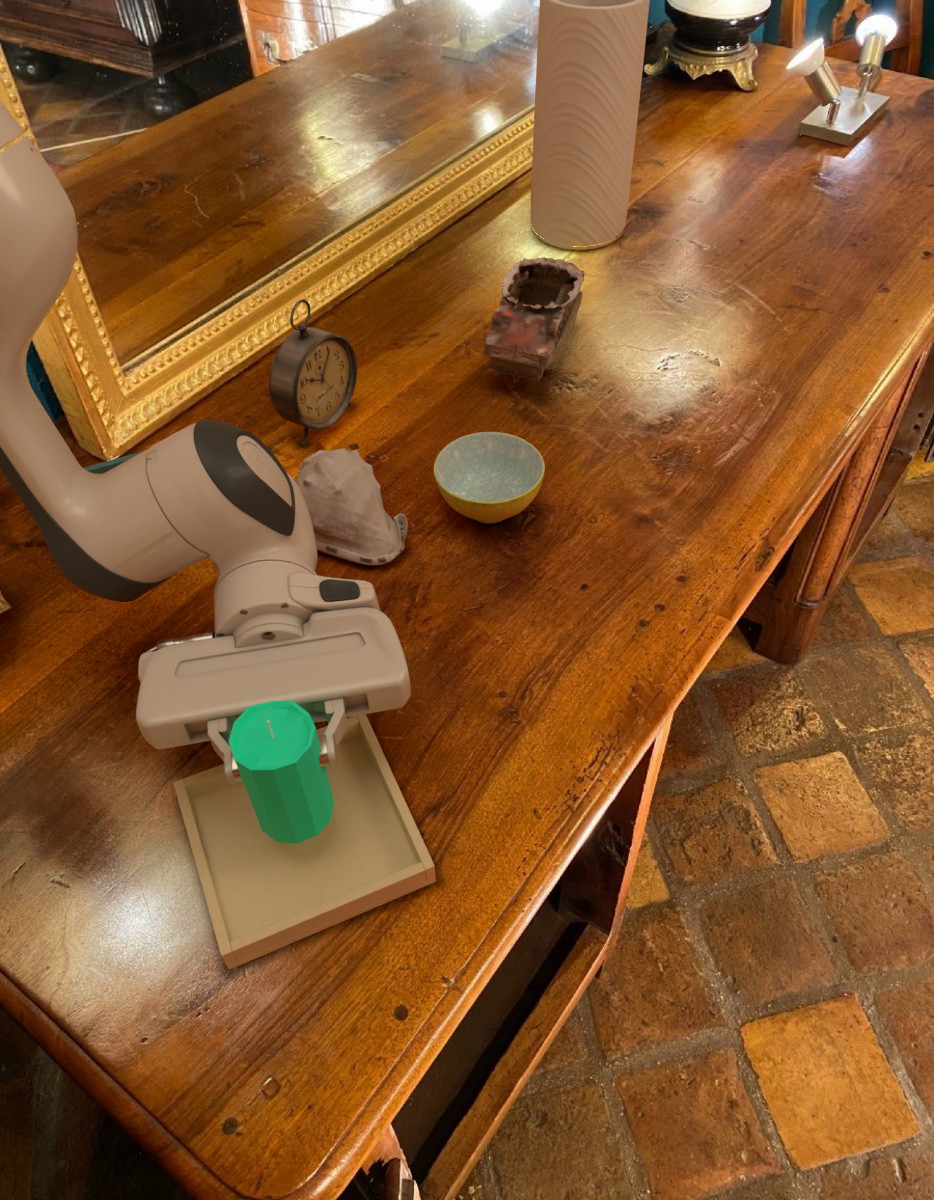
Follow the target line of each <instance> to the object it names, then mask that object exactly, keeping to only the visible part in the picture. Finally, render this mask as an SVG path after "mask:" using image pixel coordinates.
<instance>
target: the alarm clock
mask: <svg viewBox="0 0 934 1200" xmlns="http://www.w3.org/2000/svg"><path fill="white" fill-rule="evenodd" d="M302 303H304V304H305V305H306V307H307V308H306V309H307V316H306V319H305V321H304V322H300V323H299V324H298V325H297V327H296V326H295V324H294V315H295V311H296V308H297V307H298V306H299V305H300V304H302ZM310 318H311V306H310V303H309V301H308V300H307V299H304V298H301V299H299V300H297V301H296V302H295V304H294V305H293V307H292V309H291V311H290V316H289V322H290V326H291V328H292V329H294V330H295V331H294V332H292V333H290V335H288V337H286V339H284V340H283V342H282V343H281V344H280V346H279V347H278V349H277V351H276V352H275V355H274V357H273V359H272V362H271V366H270V369H269V377H268V390H269V391H268V392H269V396H270V400H271V403H272V405H273V408H274V409H275V411H276V412H277V414H278V415H279V416H280V417H281V418H282V419H284V420H285V421H287V422H290V423H293V424H295V425H298V426H301V427H302V431H301V441H300V446H301V447H305V446H306V445H307V442H306V440H307V439H308V436H309V432H310V430H311V431H322V430H326V429H327V428H330V427H331V426H332V425H334V424H335V423H336V422H338V420H339V419H340V418H341V417H342V416H343V414H344V413H345V412H346V410H347V409H348V408H350V407H351V400H352V398H353V395H354V394H355V389H356V386H357V379H358V363H357V357H356V354H355V351H354V347H353V346H352V344H351V343H350V341H349V340H348V339H347V338H346V337H344V336H343V335H341V334H338V333H333V332H330V331H327V330H324V329H321V328H317V327H313V326H307V324H308V323H309V321H310Z"/></svg>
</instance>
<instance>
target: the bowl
mask: <svg viewBox="0 0 934 1200" xmlns="http://www.w3.org/2000/svg"><path fill="white" fill-rule="evenodd" d="M545 473H546V465H545V460H544V457H543V456H542V454H541V452H540V451H539V450H538V449H537V448H536V446H534V445H533V444H532V443H530V442H529V441H527V440H525V439H523V438H521V437H520V436H517V435H514V434H510V433H506V432H499V431H498V432H497V431H482V432H481V431H480V432H474V433H470V434H466V435H464V436H460V437H458V438H456V439H454V440H452V441H451V442H449V443H447V444H446V445H445V446H444V447H443V448H442V449H441V450H440V451H439V453H438V454H437V456H436V458H435V460H434V463H433V476H434V480H435V483H436V487H437V489H438V491H439V493H440V495H441V496H442V498H443V499H444V501H445V502H446V503H447V504H448V505H449V506H450V507H451V509H453V510H454V511H456V512H457V513H459V514H460V515H461V516H464V517H466V518H469V519H471V520H475V521H477V522H479V523H482V524H497V523H499V522H502V521H504V520H506V519H507V520H508V519H510V518H512V517H514V516H515V515H518V514H520V513H521V512H522V511H524V510H525V509H526V508H528V506H529V505H530V504H531V503H533V501H534V499H535V498H536V496H537V495H538V493H539V491H540V489H541V487H542V484H543V481H544V477H545Z"/></svg>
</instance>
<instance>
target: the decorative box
mask: <svg viewBox="0 0 934 1200" xmlns="http://www.w3.org/2000/svg"><path fill="white" fill-rule="evenodd" d="M580 269H581V268H579V267H578V266H577V265H575V264H574V263H572V262H569V261H566V260H564V259H561V258H557V259H556V258H553V257H548V258H547V257H545V256H543V257H536V258H530V259H528V258H525V257H523V259H522V260H520V261H517V262H515V263H514V264H512V265H510V268H509V271H507V272H506V275H504V276H503V281H501V284H502V285H501V293H502V294H501V295H502V297H501V300H500V301H499V305H498V308H496V309H495V310H494V312H493V313H492V317H491V324H490V330H489V331H488V332H487V333H486V334H485V336H486V337H485V339H484V347H483V353H482V354H483V355H484V356H486V357H489V358H490V361H492V364H493V367H494V369H495V372H497V373H499V374H504V375H507V376H512V381H513V382H514V383H518V382H519V380H520V379H521V378H522V379H527V380H531V381H539V380H541V378H542V377H543V375H544V372H548V373H553V372H554V371H555V369H556V368H557V365H558V362H559V360H560V358H561V355H562V353H563V350H564V349H565V347H566V343H567V341H568V339H569V336H570V335H571V332H572V330H573V328H574V326H575V325H574V324H575V323H576V320H577V316H578V313H579V311H580V307H581V304H582V299H583V291H581V287H582V286H583V283H584V278H585V270H580Z"/></svg>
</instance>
